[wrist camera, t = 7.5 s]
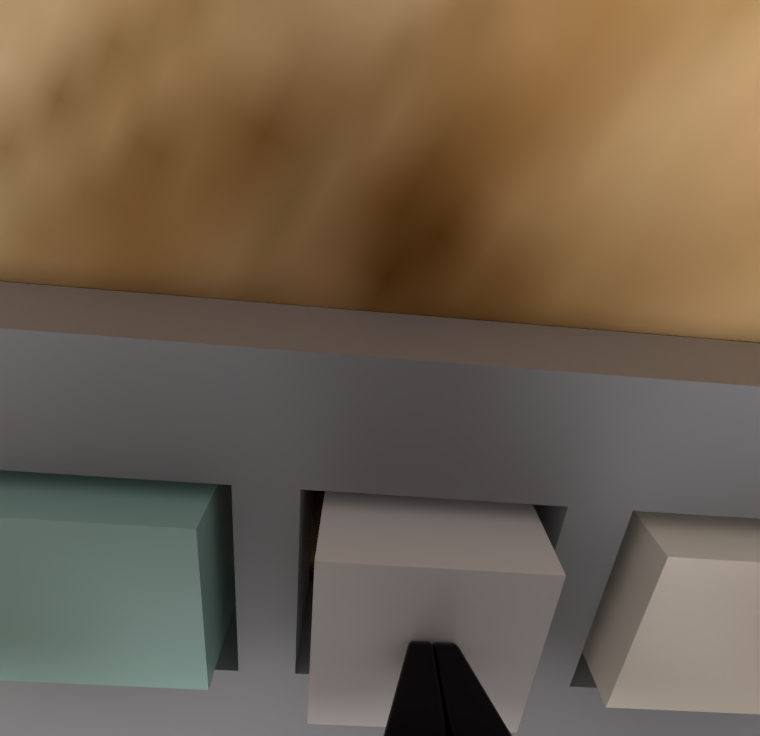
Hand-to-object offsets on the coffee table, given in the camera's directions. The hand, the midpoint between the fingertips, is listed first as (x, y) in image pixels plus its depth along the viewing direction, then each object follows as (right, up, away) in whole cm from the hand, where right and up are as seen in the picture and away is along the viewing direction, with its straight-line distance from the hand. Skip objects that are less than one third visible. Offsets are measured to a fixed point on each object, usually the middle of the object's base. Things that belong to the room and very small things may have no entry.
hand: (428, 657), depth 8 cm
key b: (0, +1, +3) cm, 3 cm away
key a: (+6, +1, +4) cm, 7 cm away
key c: (-6, +2, +3) cm, 7 cm away
